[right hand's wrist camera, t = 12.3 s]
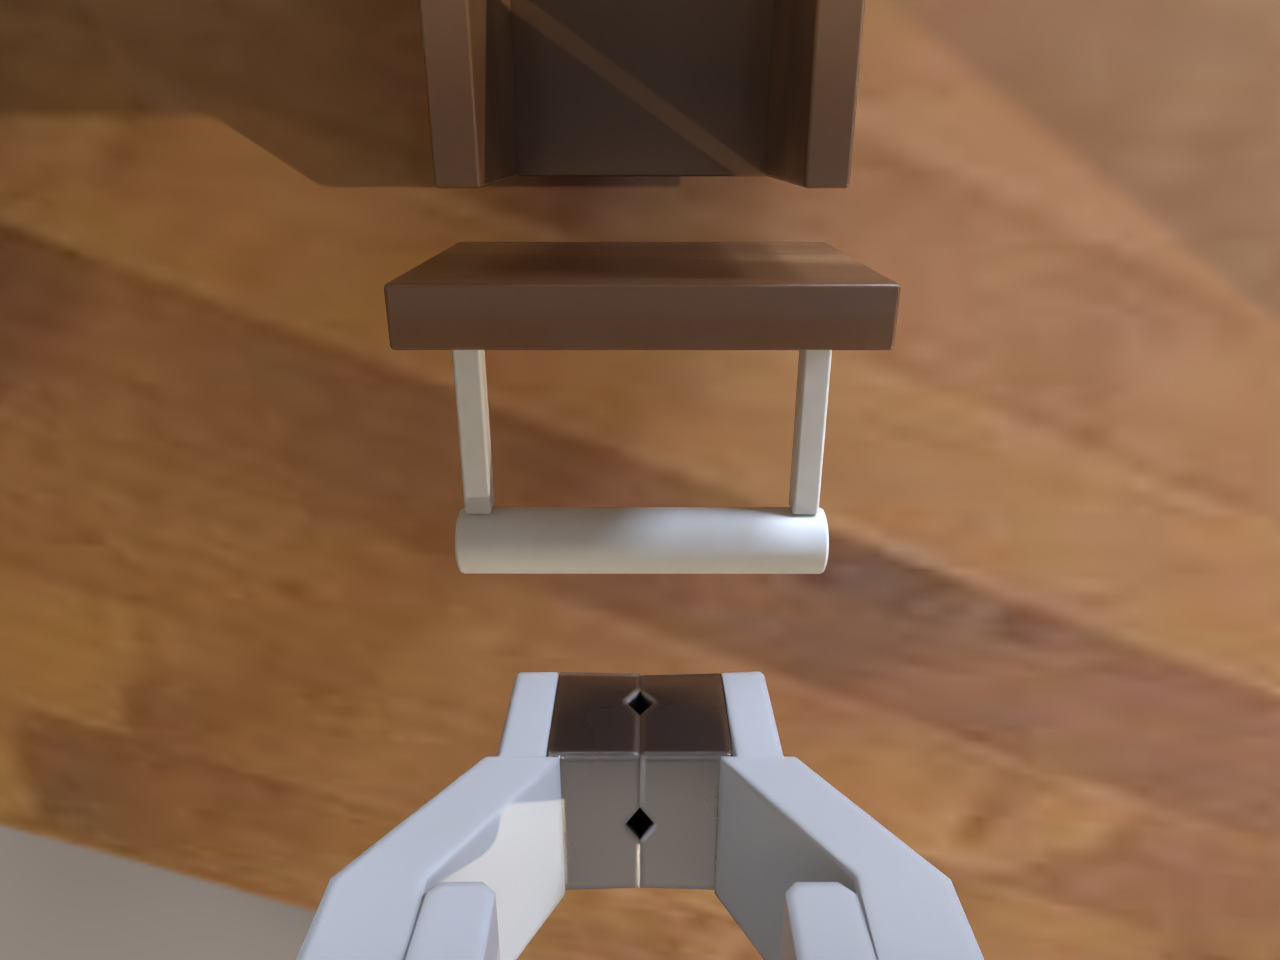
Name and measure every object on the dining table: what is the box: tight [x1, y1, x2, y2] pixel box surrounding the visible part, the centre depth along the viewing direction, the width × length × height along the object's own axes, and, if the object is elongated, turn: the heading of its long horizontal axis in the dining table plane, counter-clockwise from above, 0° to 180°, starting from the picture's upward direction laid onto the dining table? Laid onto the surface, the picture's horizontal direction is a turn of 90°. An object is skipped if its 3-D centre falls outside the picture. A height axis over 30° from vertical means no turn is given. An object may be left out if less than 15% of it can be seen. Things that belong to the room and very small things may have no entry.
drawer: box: [384, 0, 900, 574], centre depth 17 cm, size 23×9×7 cm, turn 0°
